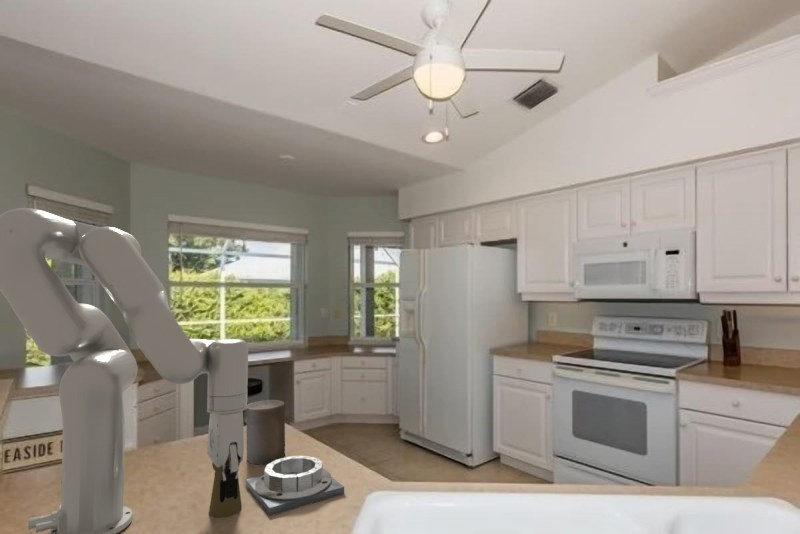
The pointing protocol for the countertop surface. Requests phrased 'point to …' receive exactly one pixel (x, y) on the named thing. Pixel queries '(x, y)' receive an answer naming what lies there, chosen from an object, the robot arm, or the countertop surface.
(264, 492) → the rosette plate
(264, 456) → the pillar candle
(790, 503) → the countertop surface
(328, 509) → the countertop surface
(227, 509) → the olive knobbed peg
